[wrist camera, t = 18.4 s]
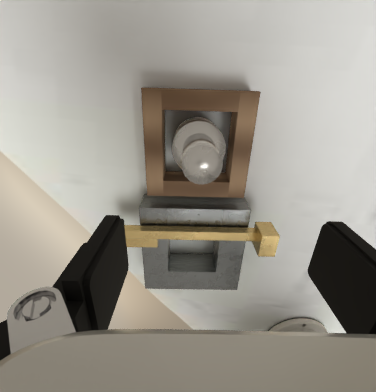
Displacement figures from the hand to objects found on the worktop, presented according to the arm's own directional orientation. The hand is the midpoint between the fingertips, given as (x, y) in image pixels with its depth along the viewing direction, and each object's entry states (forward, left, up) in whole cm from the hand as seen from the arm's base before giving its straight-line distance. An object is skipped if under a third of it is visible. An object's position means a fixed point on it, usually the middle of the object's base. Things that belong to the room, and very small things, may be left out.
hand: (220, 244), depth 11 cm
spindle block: (-14, 0, -20) cm, 24 cm away
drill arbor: (0, 0, -20) cm, 20 cm away
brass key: (-10, 0, -15) cm, 19 cm away
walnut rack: (+1, 0, -20) cm, 20 cm away
